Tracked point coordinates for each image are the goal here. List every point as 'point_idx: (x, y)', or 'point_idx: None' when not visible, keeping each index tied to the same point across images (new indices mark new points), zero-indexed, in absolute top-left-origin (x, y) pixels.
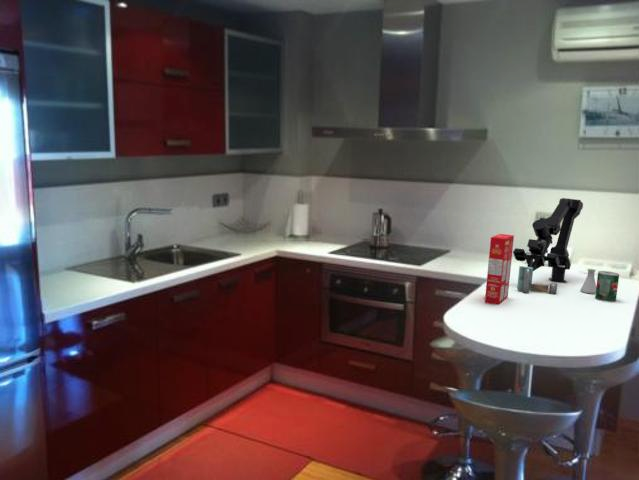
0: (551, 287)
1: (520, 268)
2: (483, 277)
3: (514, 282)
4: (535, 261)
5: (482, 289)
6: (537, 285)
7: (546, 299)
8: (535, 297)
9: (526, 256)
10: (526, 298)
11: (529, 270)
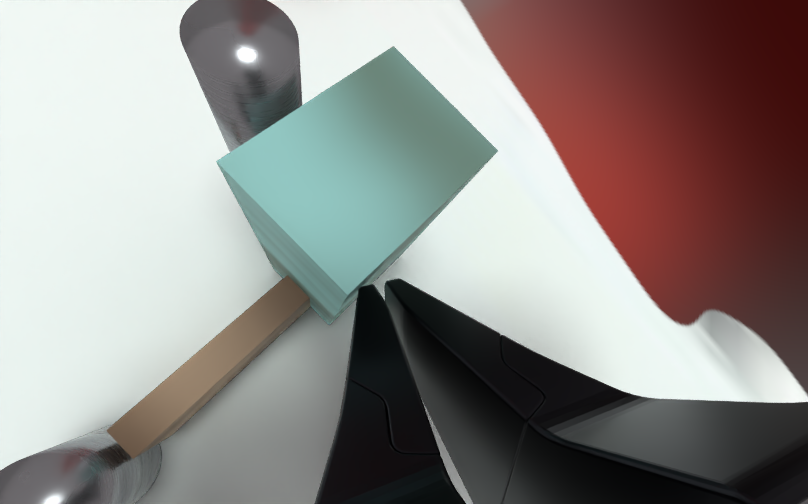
0: (68, 442)
1: (396, 65)
2: (762, 362)
3: None
4: (386, 483)
5: (482, 44)
6: (230, 324)
7: (15, 161)
8: (132, 143)
9: (797, 420)
10: (159, 52)
11: (191, 15)
